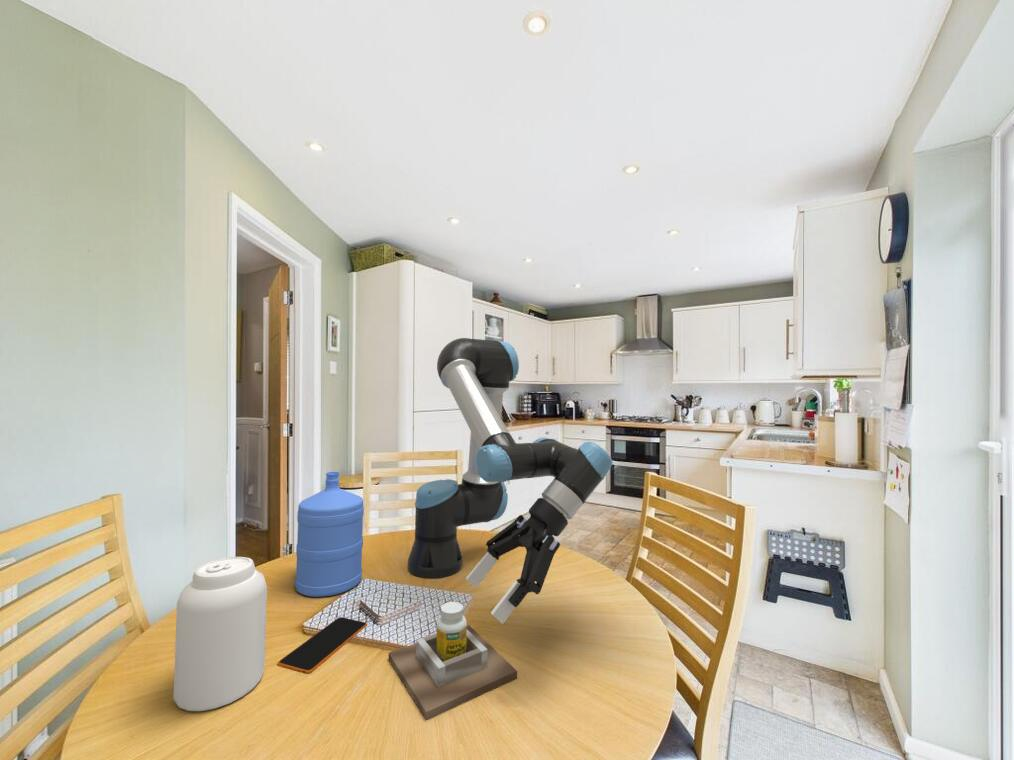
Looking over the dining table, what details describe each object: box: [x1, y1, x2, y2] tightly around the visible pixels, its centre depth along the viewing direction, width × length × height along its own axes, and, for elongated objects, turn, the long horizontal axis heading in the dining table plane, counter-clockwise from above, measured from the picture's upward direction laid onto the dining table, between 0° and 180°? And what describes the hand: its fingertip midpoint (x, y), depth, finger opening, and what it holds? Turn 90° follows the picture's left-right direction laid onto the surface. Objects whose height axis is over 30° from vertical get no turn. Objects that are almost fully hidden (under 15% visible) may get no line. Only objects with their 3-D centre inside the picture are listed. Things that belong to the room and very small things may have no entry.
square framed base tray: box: [387, 624, 518, 721], centre depth 75 cm, size 17×17×4 cm
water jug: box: [294, 471, 365, 598], centre depth 107 cm, size 16×16×28 cm
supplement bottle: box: [436, 601, 468, 662], centre depth 75 cm, size 5×5×10 cm
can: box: [173, 556, 268, 712], centre depth 70 cm, size 12×12×20 cm
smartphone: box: [277, 616, 368, 675], centre depth 82 cm, size 8×17×1 cm, turn 162°
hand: (482, 599), depth 77 cm, fingers open, 13 cm apart
